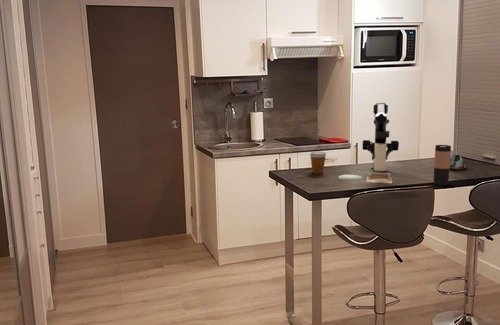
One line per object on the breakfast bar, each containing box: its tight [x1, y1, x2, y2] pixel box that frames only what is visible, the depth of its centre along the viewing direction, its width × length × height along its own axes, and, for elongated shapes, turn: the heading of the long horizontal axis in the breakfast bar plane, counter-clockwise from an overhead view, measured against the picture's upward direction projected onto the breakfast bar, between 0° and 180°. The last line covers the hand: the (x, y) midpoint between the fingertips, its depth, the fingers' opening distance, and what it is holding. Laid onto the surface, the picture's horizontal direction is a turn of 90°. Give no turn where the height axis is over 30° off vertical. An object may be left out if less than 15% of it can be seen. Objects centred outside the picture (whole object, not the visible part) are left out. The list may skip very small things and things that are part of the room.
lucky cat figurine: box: [450, 149, 466, 170], centre depth 286 cm, size 15×12×14 cm
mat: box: [337, 174, 363, 181], centre depth 262 cm, size 13×13×1 cm
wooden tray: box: [366, 172, 393, 184], centre depth 254 cm, size 13×13×4 cm
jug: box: [373, 142, 387, 172], centre depth 251 cm, size 8×6×14 cm
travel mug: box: [433, 144, 452, 186], centre depth 246 cm, size 8×8×20 cm
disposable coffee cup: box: [309, 151, 327, 175], centre depth 278 cm, size 10×10×12 cm
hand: (380, 158), depth 250 cm, fingers closed on jug, 6 cm apart
